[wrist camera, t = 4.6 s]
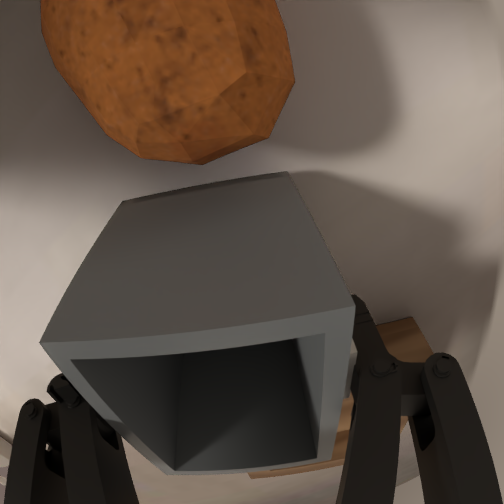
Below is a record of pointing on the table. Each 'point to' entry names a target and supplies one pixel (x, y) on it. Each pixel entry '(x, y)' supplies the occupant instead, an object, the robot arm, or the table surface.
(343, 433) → the walnut crate
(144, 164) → the table surface
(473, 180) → the table surface
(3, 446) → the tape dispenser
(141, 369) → the grey open box
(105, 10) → the potato
